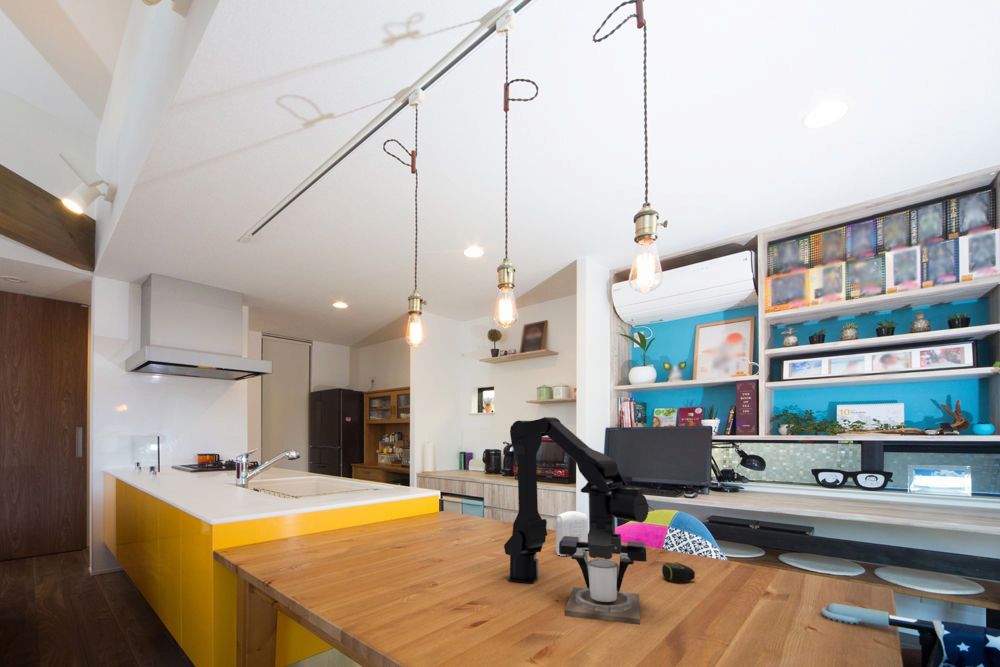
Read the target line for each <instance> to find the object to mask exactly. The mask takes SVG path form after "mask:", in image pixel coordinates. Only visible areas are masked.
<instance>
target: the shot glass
mask: <svg viewBox="0 0 1000 667" xmlns="http://www.w3.org/2000/svg"><path fill="white" fill-rule="evenodd" d="M587 565H588V575H589V585H590V587H589V588H590V595H591V598H592V599H594V600H597V601H601V602H612V601H615V600H616V599H617V582H618V573H619V563H617V562H615V561H613V560H610V559H600V558H597V559H592V560H588V562H587Z"/></svg>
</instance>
